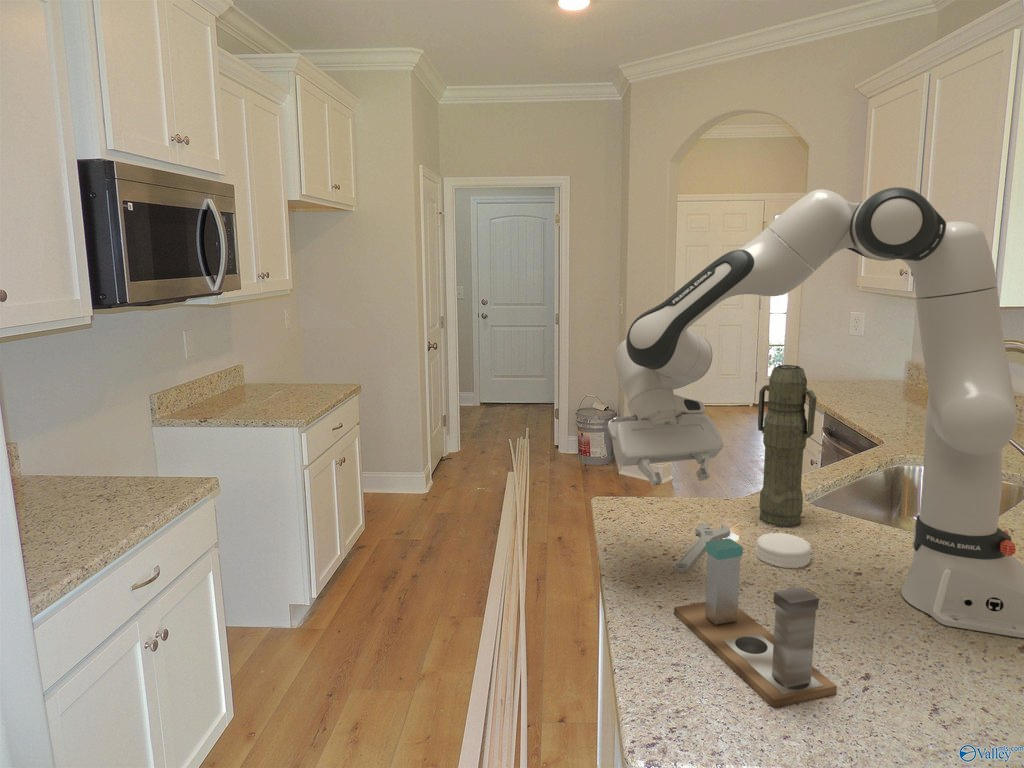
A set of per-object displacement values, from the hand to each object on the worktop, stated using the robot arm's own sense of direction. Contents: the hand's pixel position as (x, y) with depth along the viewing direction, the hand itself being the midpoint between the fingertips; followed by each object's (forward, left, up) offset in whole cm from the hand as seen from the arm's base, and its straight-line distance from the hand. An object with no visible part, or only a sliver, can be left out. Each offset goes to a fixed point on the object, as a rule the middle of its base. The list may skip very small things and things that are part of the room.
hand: (681, 481), depth 121 cm
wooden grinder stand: (-16, +13, -20) cm, 29 cm away
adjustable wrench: (+3, -19, -21) cm, 29 cm away
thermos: (-8, -44, -20) cm, 49 cm away
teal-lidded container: (-10, +9, -19) cm, 23 cm away
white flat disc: (-13, -24, -21) cm, 34 cm away
